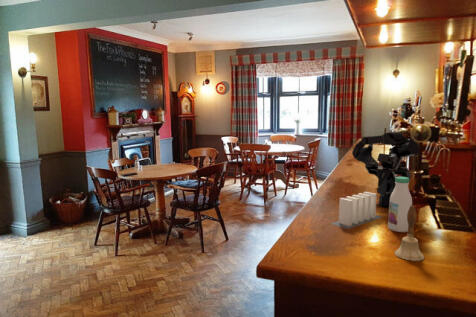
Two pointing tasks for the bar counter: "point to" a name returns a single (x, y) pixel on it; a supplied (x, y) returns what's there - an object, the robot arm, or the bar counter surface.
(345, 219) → the domino
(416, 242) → the hand bell
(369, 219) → the runner mat
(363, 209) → the domino
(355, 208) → the domino
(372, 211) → the domino
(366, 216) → the domino
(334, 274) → the bar counter surface
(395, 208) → the milk bottle
